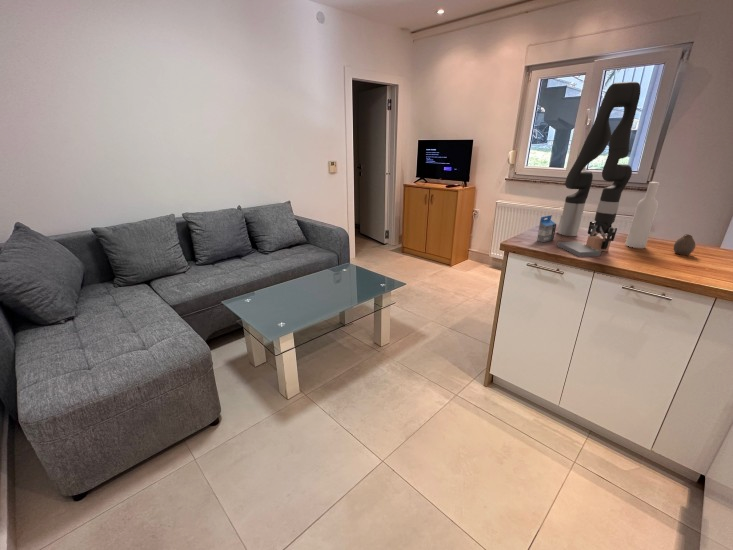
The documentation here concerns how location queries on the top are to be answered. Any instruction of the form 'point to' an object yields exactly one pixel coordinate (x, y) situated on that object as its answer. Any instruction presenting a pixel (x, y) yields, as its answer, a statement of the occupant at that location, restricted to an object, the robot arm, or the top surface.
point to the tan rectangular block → (596, 242)
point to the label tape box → (546, 229)
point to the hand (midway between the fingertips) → (597, 246)
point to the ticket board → (579, 249)
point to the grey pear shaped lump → (684, 245)
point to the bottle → (643, 218)
